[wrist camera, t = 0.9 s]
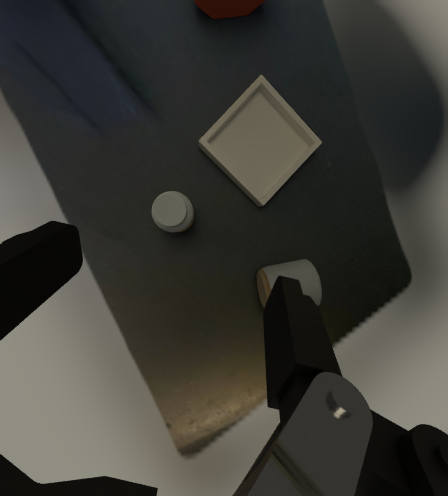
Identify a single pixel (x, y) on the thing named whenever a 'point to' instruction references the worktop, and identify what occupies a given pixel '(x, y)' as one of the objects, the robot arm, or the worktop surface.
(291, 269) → the ceramic mug
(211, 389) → the worktop surface
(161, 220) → the supplement bottle
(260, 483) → the robot arm
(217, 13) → the french fries container
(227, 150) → the tray
